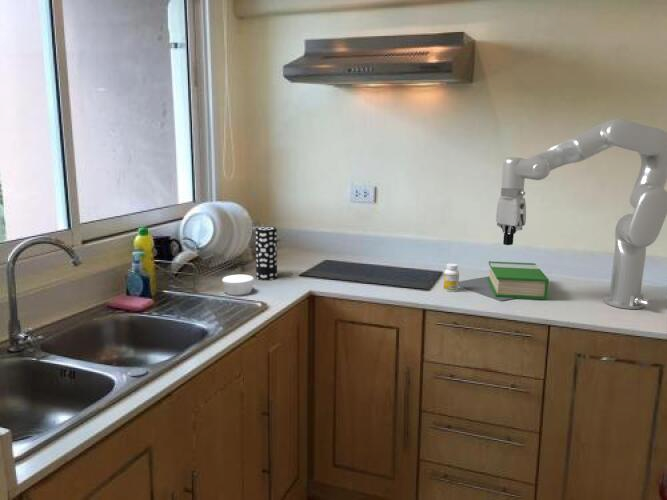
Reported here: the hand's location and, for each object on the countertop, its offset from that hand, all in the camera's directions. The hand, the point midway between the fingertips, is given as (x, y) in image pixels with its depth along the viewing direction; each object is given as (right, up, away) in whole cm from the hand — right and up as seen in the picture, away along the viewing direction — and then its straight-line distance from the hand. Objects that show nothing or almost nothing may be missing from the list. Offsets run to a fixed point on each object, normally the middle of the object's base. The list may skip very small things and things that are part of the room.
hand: (508, 244), depth 203 cm
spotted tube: (-89, -13, +25) cm, 93 cm away
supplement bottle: (-18, -17, +11) cm, 27 cm away
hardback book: (+5, -16, -1) cm, 16 cm away
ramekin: (-97, -18, +5) cm, 99 cm away
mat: (+1, -16, +14) cm, 22 cm away
